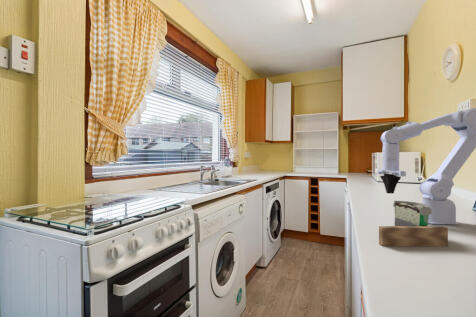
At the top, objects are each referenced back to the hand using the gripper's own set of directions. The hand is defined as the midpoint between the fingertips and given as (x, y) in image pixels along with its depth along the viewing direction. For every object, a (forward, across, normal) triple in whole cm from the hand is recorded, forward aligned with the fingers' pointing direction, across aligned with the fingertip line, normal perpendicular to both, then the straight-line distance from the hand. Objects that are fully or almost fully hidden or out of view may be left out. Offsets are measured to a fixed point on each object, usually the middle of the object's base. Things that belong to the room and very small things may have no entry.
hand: (390, 193), depth 93 cm
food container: (+11, +21, -5) cm, 24 cm away
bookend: (+10, +23, -13) cm, 28 cm away
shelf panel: (+10, +29, -12) cm, 33 cm away
